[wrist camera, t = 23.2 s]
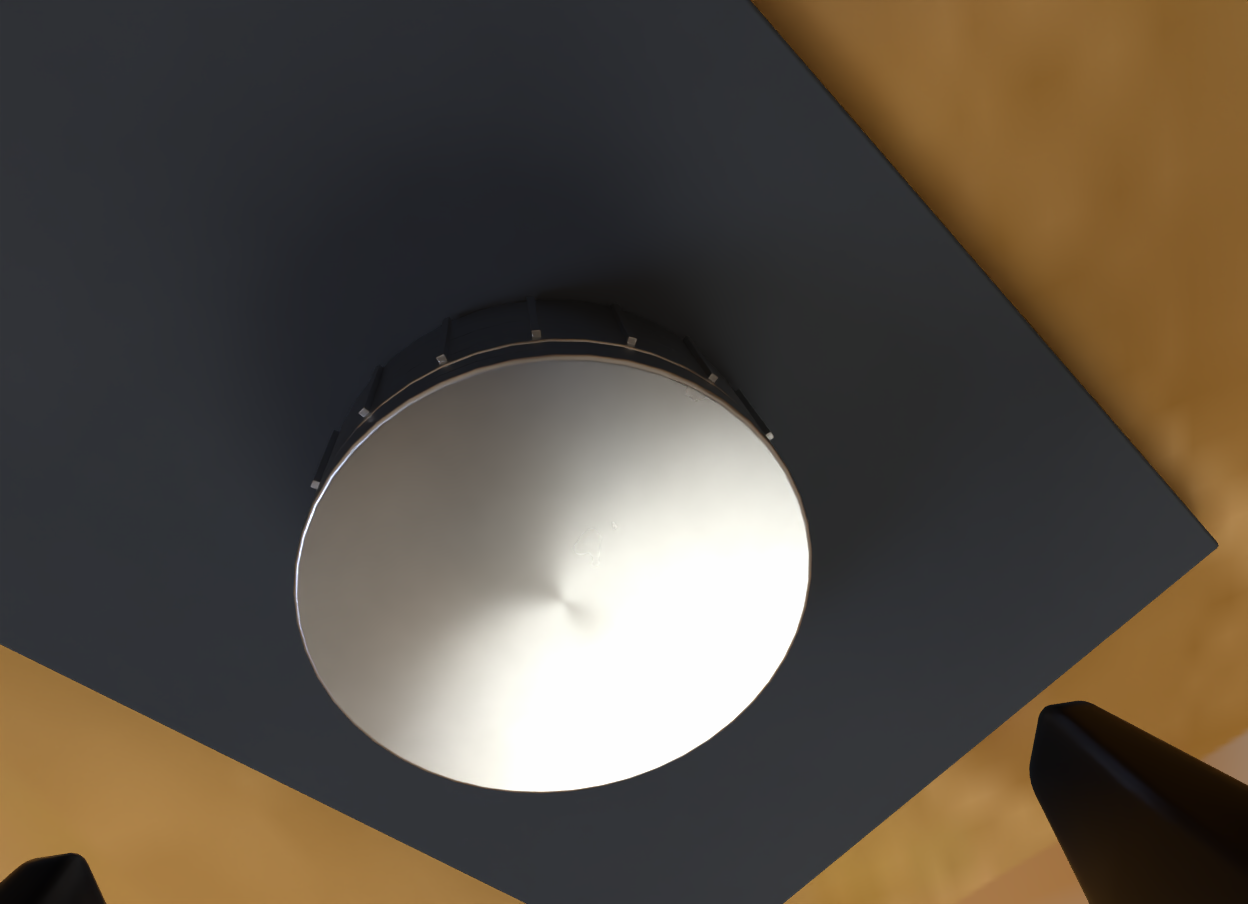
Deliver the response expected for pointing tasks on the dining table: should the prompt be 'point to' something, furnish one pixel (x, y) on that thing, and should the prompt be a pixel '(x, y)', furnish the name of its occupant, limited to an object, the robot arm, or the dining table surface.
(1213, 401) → the dining table surface
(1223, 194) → the dining table surface
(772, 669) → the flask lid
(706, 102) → the slate mat
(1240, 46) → the dining table surface
